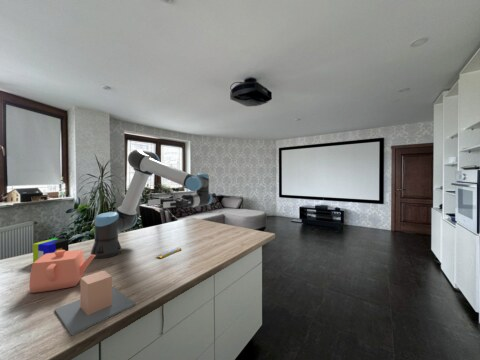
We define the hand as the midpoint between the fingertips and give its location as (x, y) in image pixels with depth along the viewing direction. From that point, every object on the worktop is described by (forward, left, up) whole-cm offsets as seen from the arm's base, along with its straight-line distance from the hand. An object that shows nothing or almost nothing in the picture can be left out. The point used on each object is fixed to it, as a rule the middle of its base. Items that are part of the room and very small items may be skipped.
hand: (155, 203), depth 103 cm
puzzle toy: (-52, -29, -32) cm, 68 cm away
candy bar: (-12, +17, -33) cm, 39 cm away
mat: (+13, -30, -32) cm, 45 cm away
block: (+13, -30, -31) cm, 45 cm away
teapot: (-16, -31, -32) cm, 47 cm away
